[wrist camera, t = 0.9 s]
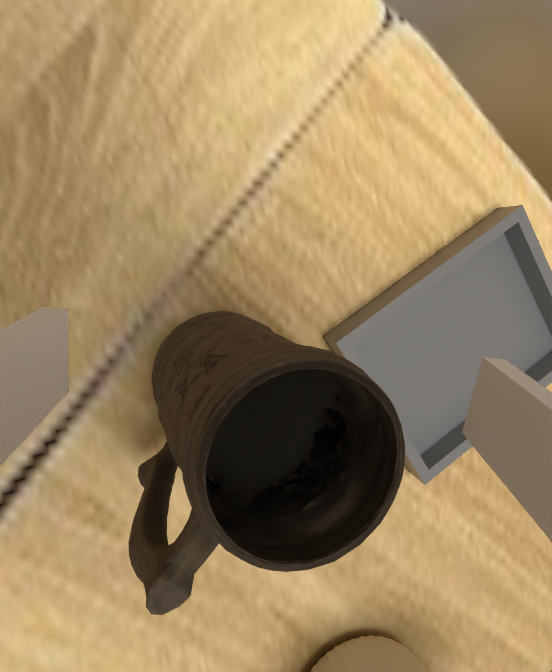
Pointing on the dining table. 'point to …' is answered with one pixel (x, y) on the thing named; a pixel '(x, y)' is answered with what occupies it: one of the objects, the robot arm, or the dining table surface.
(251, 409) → the beer stein
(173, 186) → the dining table surface
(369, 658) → the canister
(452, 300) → the tray
